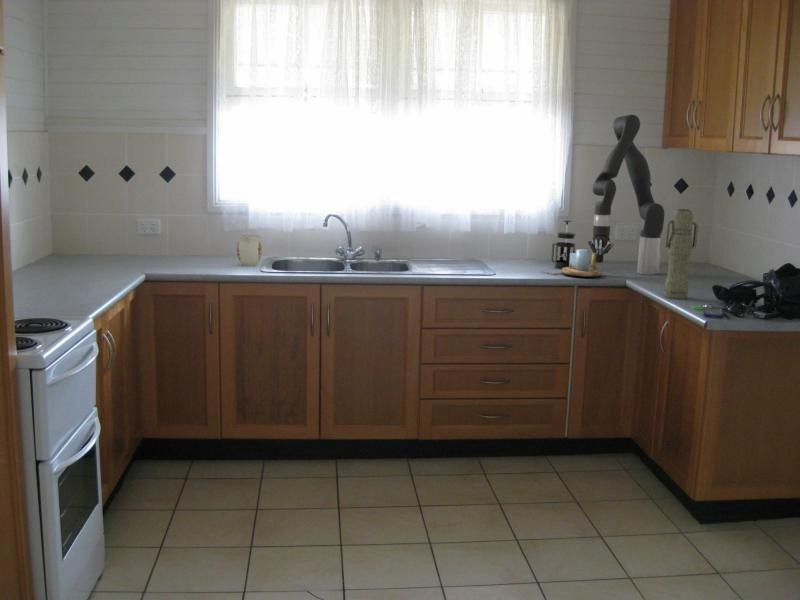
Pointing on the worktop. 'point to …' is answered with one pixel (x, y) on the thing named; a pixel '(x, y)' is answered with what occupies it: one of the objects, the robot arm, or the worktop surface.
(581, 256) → the pale blue carafe
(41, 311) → the worktop surface
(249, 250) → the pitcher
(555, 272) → the slate mat
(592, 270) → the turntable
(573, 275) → the turntable base
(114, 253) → the worktop surface
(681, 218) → the thermos
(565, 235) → the french press
